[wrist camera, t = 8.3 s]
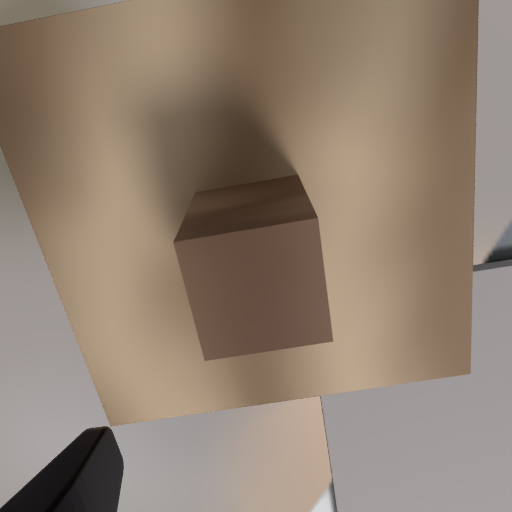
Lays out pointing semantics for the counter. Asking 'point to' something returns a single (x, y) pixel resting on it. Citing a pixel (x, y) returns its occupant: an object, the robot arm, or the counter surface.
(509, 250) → the counter surface
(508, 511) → the mat
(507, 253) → the counter surface
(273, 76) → the lid
